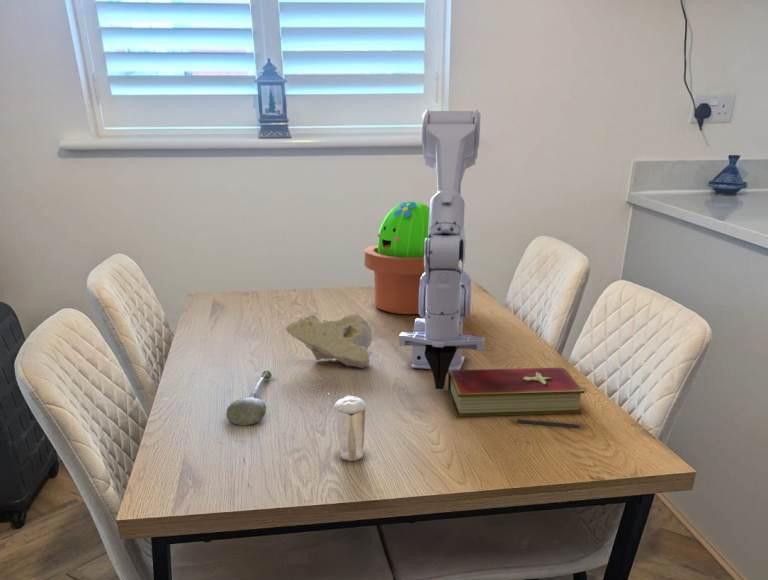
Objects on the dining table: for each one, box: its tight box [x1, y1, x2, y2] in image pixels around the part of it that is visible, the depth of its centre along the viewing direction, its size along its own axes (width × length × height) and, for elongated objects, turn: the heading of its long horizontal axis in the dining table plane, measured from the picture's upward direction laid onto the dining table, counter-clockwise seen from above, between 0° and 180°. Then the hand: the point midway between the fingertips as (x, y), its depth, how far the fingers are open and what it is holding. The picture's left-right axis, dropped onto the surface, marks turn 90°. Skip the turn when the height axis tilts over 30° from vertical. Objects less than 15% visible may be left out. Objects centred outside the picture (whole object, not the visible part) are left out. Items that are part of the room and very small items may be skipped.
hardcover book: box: [447, 366, 585, 418], centre depth 124 cm, size 12×21×4 cm, turn 93°
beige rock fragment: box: [285, 312, 373, 369], centre depth 143 cm, size 15×7×15 cm
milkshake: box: [327, 393, 367, 462], centre depth 104 cm, size 4×5×10 cm
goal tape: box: [516, 419, 581, 429], centre depth 124 cm, size 10×18×1 cm, turn 167°
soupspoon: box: [225, 370, 273, 427], centre depth 125 cm, size 22×3×7 cm
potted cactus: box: [363, 200, 430, 315], centre depth 174 cm, size 22×22×25 cm
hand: (440, 387), depth 127 cm, fingers closed
